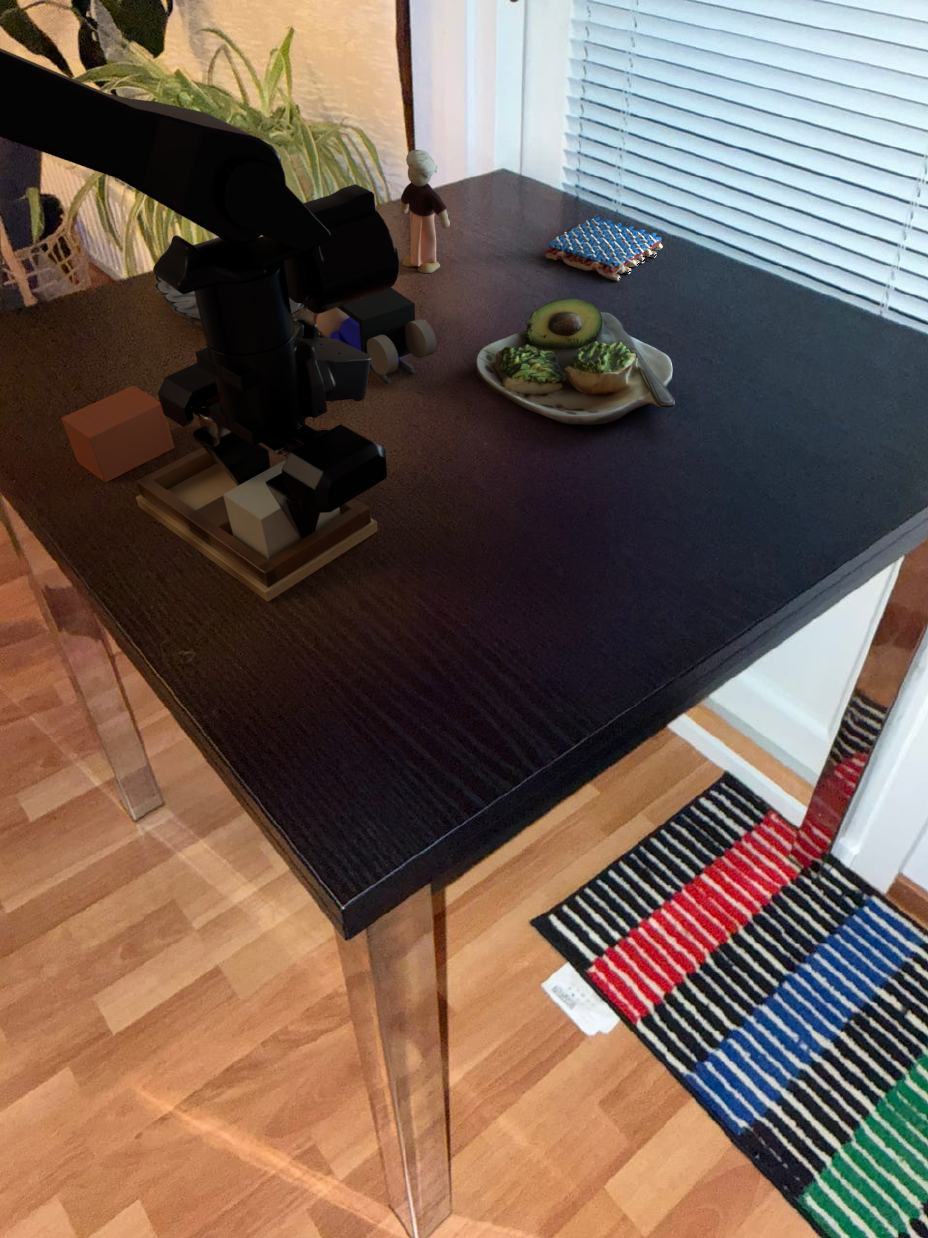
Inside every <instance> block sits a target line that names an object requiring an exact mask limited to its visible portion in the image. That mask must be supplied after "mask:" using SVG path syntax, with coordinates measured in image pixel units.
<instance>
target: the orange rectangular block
mask: <svg viewBox="0 0 928 1238" xmlns="http://www.w3.org/2000/svg"><path fill="white" fill-rule="evenodd" d="M61 421H62V424H63V427H64V430H65V433H66V435H67V438H68V440H69V443H70V446H71V448H72V451H73V454H74V456H75V458H76V463H78V464H79V465H81V466H82V467H83V468H85V469H86V470H87V471H88V472H90V473H92V474H93V475H94V476H95V477H97V478H98V479H99V480H101V481H102V482H103V483H108V482H110V481H111V480H113V479H116V478H118V477H120V476H122V475H124V474H125V473H128V472H129V471H132V470H134V469H135V468H137V467H140V466H142V465H144V464H146V463H148V462H149V461H151V460H153V459H156V458H157V457H159V456H161V455H163V454H165V453H167V452H169V451H171V450H173V449H175V444H174V440H173V436H172V433H171V429H170V427H169V422H168V419H167V416H165V415H164V413H163V410H162V406H161V403H160V400H157V398H154V397H152V396H151V395H149V394H148V393H146V392H145V391H143V390H142V389H140V388H138V387H136V386H135V385H130V386H129V387H127V388H124V389H122V390H120V391H118V392H116V393H114V394H111V395H108V396H107V397H105V398H102V399H100V400H98V401H96V402H93V403H91V404H89V405H87V406H84V407H82V408H80V409H78V410H76V411H74V412H71V413H68V414H67V415H65V416H62V417H61Z"/></svg>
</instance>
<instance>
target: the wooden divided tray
mask: <svg viewBox="0 0 928 1238" xmlns="http://www.w3.org/2000/svg"><path fill="white" fill-rule="evenodd" d="M286 459H287V456H285V455H284V454H283V453H281V454H279V455H275V454H273V453H271V452H270V451H269V460H270V468H271V467H273V466H275V465H277V464H279V463H280V462H282V461H284V460H286ZM136 484H137V486H138V490H139V493H140V494H139V495H137V496H135V499H136V503H137V505H138V507H139V508H140V509H141V510H143V512H145V513H147V514H148V515H150V516H151V517H152V518H153V519H155V520H156V521H157V522H159V523H160V524H162V526H164V527H166V529H168V530H170V532H172V533H174V534H175V535H176V536H178V537H179V538H180V539H182V540H183V541H184V542H186V543H187V544H189V545H190V546H191V547H193V549H195V550H197V551H198V552H199V553H201V555H203V556H205V557H206V558H207V559H209V560H210V561H212V562H213V563H214V564H216V565H217V567H219V568H221V569H222V570H224V571H225V572H226V573H228V574H229V575H231V576H232V577H233V578H235V579H236V580H237V581H238V582H240V583H241V584H243V585H244V586H246V587H247V588H248V589H249V590H251V591H252V592H253V593H254V594H256V595H257V596H259V597H260V598H262V599H263V600H264V601H266V602H267V603H268V602H270V601H272V600H274V599H275V598H276V597H278V596H279V595H281V594H282V593H284V592H286V591H288V590H289V589H291V588H292V587H294V586H295V585H296V584H298V583H300V582H301V581H302V580H304V579H306V578H307V577H309V576H311V575H312V574H314V573H315V572H317V571H318V570H320V569H322V568H323V567H324V566H326V565H327V564H329V563H330V562H332V561H334V560H335V559H337V558H338V557H340V556H341V555H343V554H345V553H346V552H348V551H349V550H351V549H352V548H354V547H356V546H357V545H359V544H360V543H362V542H363V541H365V540H367V539H368V538H369V537H371V536H372V535H374V534H375V533H377V532H378V522H377V521H376V520H374V519H373V518H372V517H371V509H370V506H367V505H366V504H365V503H363V502H361V501H360V500H357V499H356V498H353V499H352V500H350V501H348V502H347V503H345V504H343V505H342V506H340V507H339V508H340V516H339V517H337V518H335V519H334V520H332V521H331V522H329V523H327V524H326V525H324V526H322V527H321V528H319V529H318V530H316V531H314V532H313V533H311V534H309V535H308V536H306V537H305V538H303V539H301V540H300V541H298V542H296V543H295V544H293V545H292V546H290V547H288V548H287V549H285V550H283V551H282V552H280V553H279V554H277V555H275V556H274V557H272V558H270V559H269V560H265V559H264V558H262V557H261V556H260V555H258V554H257V553H255V552H254V551H252V550H251V549H250V548H248V547H247V546H245V545H244V544H243V543H241V542H240V541H238V540H237V539H235V538H234V536H233V532H232V528H231V524H230V520H229V516H228V512H227V508H226V504H225V500H224V496H223V494H225V493H226V492H228V491H230V490H232V489H234V488H235V487H237V484H236V483H235V482H234V481H233V480H232V479H231V478H230V476H229V475H228V474H227V473H226V472H225V471H224V470H223V469H222V467H221V466H220V465H219V464H218V463H217V462H216V461H215V460H214V459H213V458H212V456H211V455H210V454H209V453H208V452H207V451H206V450H205V449H204V448H203V447H202V446H201V447H200V448H197V449H195V450H193V451H192V452H190V453H187V454H186V455H184V456H182V457H180V458H178V459H176V460H174V461H172V462H170V463H169V464H166V465H164V466H163V467H161V468H158V469H157V470H155V471H153V472H151V473H148V474H147V475H145V476H143V477H141V478H139V479H137V480H136Z"/></svg>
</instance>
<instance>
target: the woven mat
mask: <svg viewBox="0 0 928 1238" xmlns="http://www.w3.org/2000/svg"><path fill="white" fill-rule="evenodd" d="M600 218H601V217H600V216H595V217H594V218H591V219H586V220H585V223H584V224H580V223H579V224H577V227H575V228H572V229H571V230H569V231H564V232H563V234H562V235H559V236H556V238H555V239H553V240H549V243H548V245H547V246H548V248H547V249H545V252H546V254H545V258H546V259H548V260H549V259H551V260H556V261H558V260H560V261H563V263H564V264H567V266H571V267H574V268H576V269H579V270H583V271H585V272H586V271H593V272H597V273H598V274H599V275H601V274H602V275H601V276H603V278H607V279H609V280H613V281H616V282H619V281H620V279H621V275H622V274H623V273H625V274H627V275H630V274H631V273H632V268H629V267H633V268H634V267H637V266H639V264H644V263H645V261H644V262H640V261H639V260H642V261H643V260H644V259H645V260H646V258H649V257H650V258H653V259H655V258H656V257H657V256H658V253H657V252H658V251H652V249H655V250H660V251H662V249H663V247H664V245H663V244H662V240H663V239H662V237H661V236H657V233H656V232H652V233H649V232H648V233H645V231H646V230H645V229H640V230H637V229H636V230H635V229H634V226H632V225H630V226H628V227H627V226H624V227H623V226H622V225H623V223H621V222H618V223H611V222H612V219H606V220H600ZM652 254H654V255H655V254H657V255H656V256H655V257H654V256H650V255H652ZM643 256H644V257H643ZM645 256H647V257H645ZM637 259H639V260H637ZM638 263H639V264H638ZM637 264H638V265H637ZM576 266H577V267H576ZM579 267H580V268H579ZM582 268H583V269H582ZM625 271H626V272H629V271H631V272H629V273H626V272H625ZM620 274H621V275H620ZM604 275H606V276H604ZM608 276H609V277H608ZM619 278H620V279H619Z"/></svg>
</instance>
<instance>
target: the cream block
mask: <svg viewBox="0 0 928 1238" xmlns="http://www.w3.org/2000/svg"><path fill="white" fill-rule="evenodd" d="M285 461H286V460H284V461H282V462H280V463H279V464H277V465H275V466H273V467H271V468H270V469H268V470H266V471H264V472H262V473H261V474H259V475H257V476H255V477H253V478H252V479H250V480H248V481H246V482H244V483H243V484H241V485H239V486H237V487H235V488H234V489H232V490H230V491H228V492H226V493H225V494H223V496H224V500H225V504H226V508H227V512H228V516H229V520H230V524H231V528H232V532H233V536H234V538H235V539H237V540H238V541H240V542H241V543H243V544H244V545H245V546H247V547H248V548H250V549H251V550H252V551H254V552H255V553H257V554H258V555H260V556H261V557H262V558H264V559H265V560H269V559H270V558H272V557H274V556H275V555H277V554H279V553H280V552H282V551H283V550H285V549H287V548H288V547H290V546H292V545H293V544H295V543H296V542H298V541H300V540H301V538H300V537H299V536H298V534H297V533H296V531H295V530H294V528H293V527H292V525H291V524H290V522H289V521H288V519H287V517H286V516H285V514H284V512H283V511H282V509H281V508H280V506H279V504H278V503H277V501H276V500H275V498H274V497H273V495H272V493H271V492H270V490H269V488H268V487H267V485H266V481H268V480H270V479H272V478H273V477H275V476H277V475H279V474H281V473H282V470H281V469H282V467H283V465H284V463H285ZM339 516H340V508H339V507H338V508H337V509H335V510H334V511H332V512H328V513H320V515H319V519H318V522H317V526H316V530H318V529H319V528H321V527H322V526H324V525H326V524H327V523H329V522H331V521H332V520H334V519H335V518H337V517H339ZM316 530H315V531H316Z"/></svg>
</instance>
